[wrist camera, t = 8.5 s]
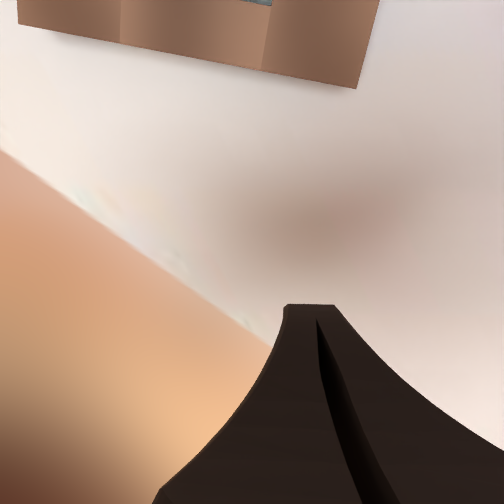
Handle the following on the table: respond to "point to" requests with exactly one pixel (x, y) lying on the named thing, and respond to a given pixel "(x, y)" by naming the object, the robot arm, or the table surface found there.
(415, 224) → the table surface
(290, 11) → the walnut panel
